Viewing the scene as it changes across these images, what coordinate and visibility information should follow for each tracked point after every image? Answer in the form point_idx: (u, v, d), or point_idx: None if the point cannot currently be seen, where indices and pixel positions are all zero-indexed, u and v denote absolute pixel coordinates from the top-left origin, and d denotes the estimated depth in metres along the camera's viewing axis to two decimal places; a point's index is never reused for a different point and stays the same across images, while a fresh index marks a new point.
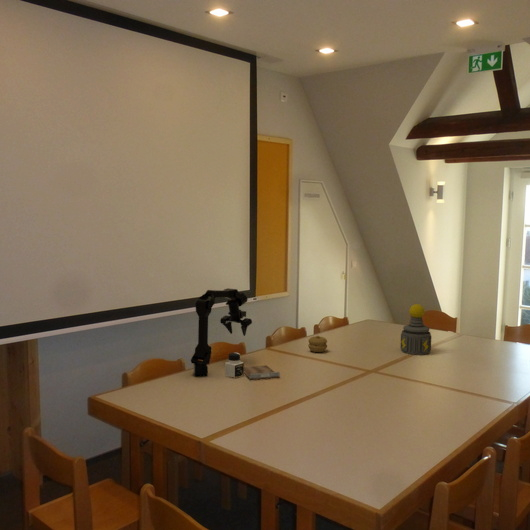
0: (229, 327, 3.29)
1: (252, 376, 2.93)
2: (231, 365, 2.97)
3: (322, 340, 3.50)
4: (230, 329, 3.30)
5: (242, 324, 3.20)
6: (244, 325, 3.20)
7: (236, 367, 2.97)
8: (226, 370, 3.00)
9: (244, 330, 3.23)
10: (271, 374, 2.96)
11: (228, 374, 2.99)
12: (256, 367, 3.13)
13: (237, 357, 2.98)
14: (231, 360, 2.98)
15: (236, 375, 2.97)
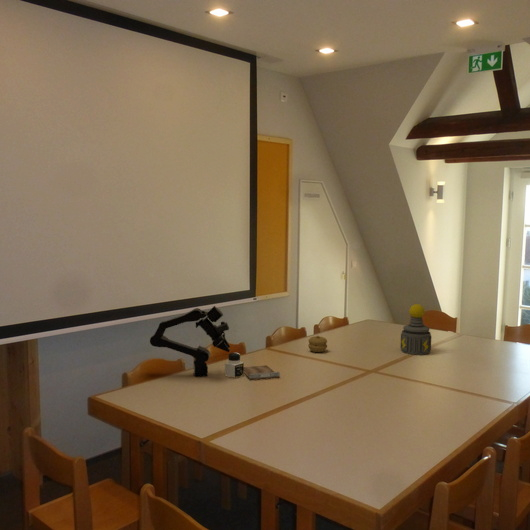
0: None
1: (252, 376, 2.93)
2: (231, 365, 2.97)
3: (322, 340, 3.50)
4: (225, 344, 3.05)
5: None
6: None
7: (236, 367, 2.97)
8: (226, 370, 3.00)
9: (222, 348, 2.95)
10: (271, 374, 2.96)
11: (228, 374, 2.99)
12: (256, 367, 3.13)
13: (237, 357, 2.98)
14: (231, 360, 2.98)
15: (236, 375, 2.97)
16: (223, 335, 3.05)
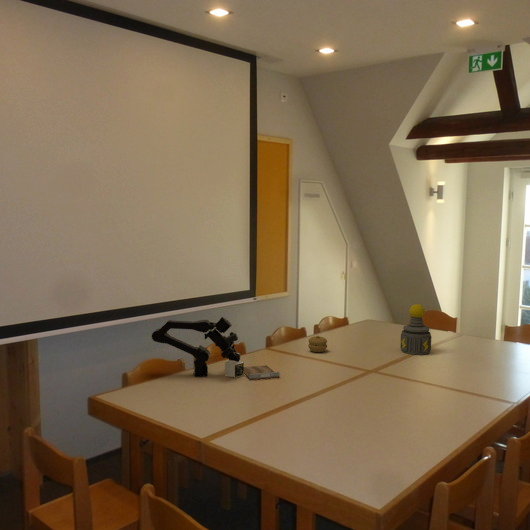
0: None
1: (252, 376, 2.93)
2: (231, 365, 2.97)
3: (322, 340, 3.50)
4: None
5: None
6: None
7: (236, 367, 2.97)
8: (226, 370, 3.00)
9: (231, 358, 2.96)
10: (271, 374, 2.96)
11: (228, 374, 2.99)
12: (256, 367, 3.13)
13: (237, 357, 2.98)
14: (231, 360, 2.98)
15: (236, 375, 2.97)
16: (233, 346, 3.04)
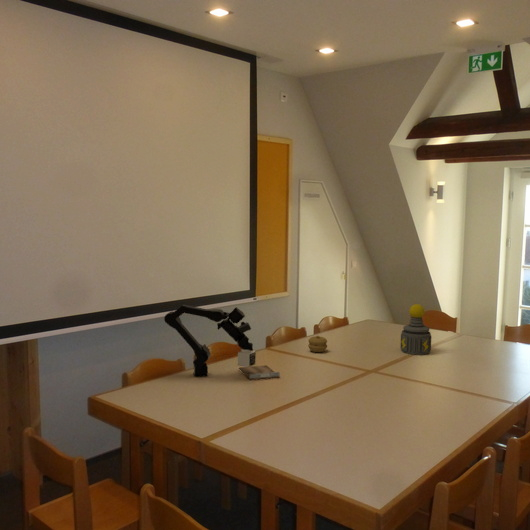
0: None
1: (252, 376, 2.93)
2: (245, 354, 2.98)
3: (322, 340, 3.50)
4: None
5: None
6: (239, 346, 2.92)
7: (250, 356, 2.98)
8: (239, 359, 2.99)
9: (246, 347, 2.96)
10: (271, 374, 2.96)
11: (241, 363, 2.99)
12: (256, 367, 3.13)
13: (251, 346, 2.99)
14: (245, 349, 2.98)
15: (250, 364, 2.98)
16: None
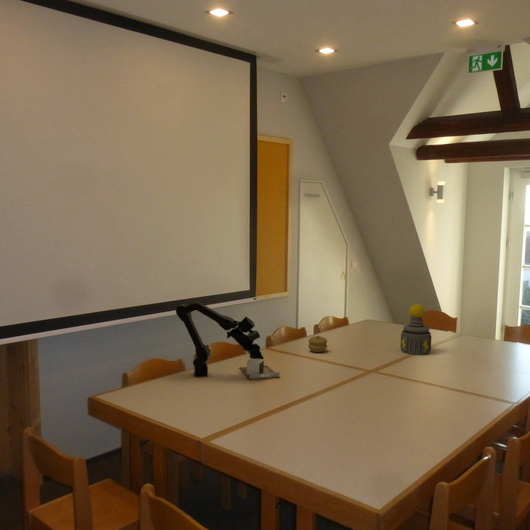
0: None
1: (252, 376, 2.93)
2: (255, 363, 2.98)
3: (322, 340, 3.50)
4: None
5: (249, 353, 2.93)
6: (250, 354, 2.91)
7: (260, 364, 2.98)
8: (248, 369, 2.99)
9: (257, 356, 2.95)
10: (271, 374, 2.96)
11: (251, 372, 2.99)
12: None
13: None
14: (254, 358, 2.98)
15: (260, 372, 2.98)
16: None
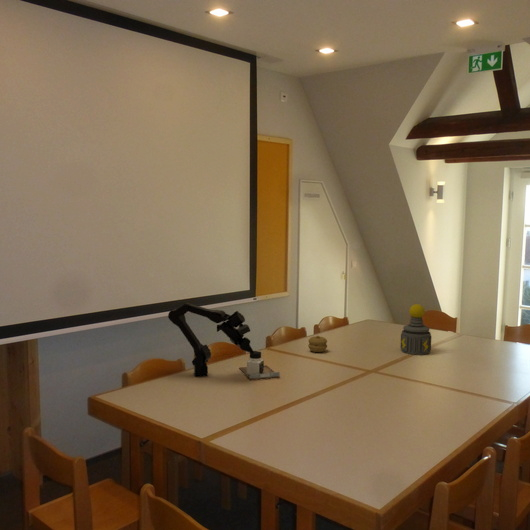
0: None
1: (252, 376, 2.93)
2: (255, 363, 2.98)
3: (322, 340, 3.50)
4: None
5: (239, 347, 2.91)
6: (240, 348, 2.89)
7: (260, 364, 2.98)
8: (248, 369, 2.99)
9: (247, 350, 2.93)
10: (271, 374, 2.96)
11: (251, 372, 2.99)
12: None
13: (260, 355, 2.99)
14: (254, 358, 2.98)
15: (260, 372, 2.98)
16: None
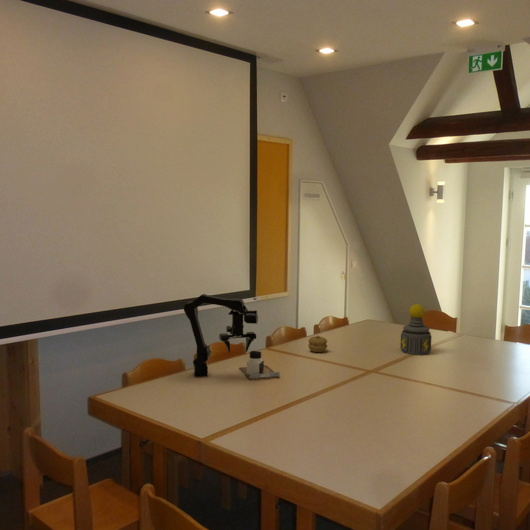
0: None
1: (252, 376, 2.93)
2: (255, 363, 2.98)
3: (322, 340, 3.50)
4: None
5: (251, 336, 2.96)
6: (254, 337, 2.96)
7: (260, 364, 2.98)
8: (248, 369, 2.99)
9: None
10: (271, 374, 2.96)
11: (251, 372, 2.99)
12: None
13: (260, 355, 2.99)
14: (254, 358, 2.98)
15: (260, 372, 2.98)
16: None
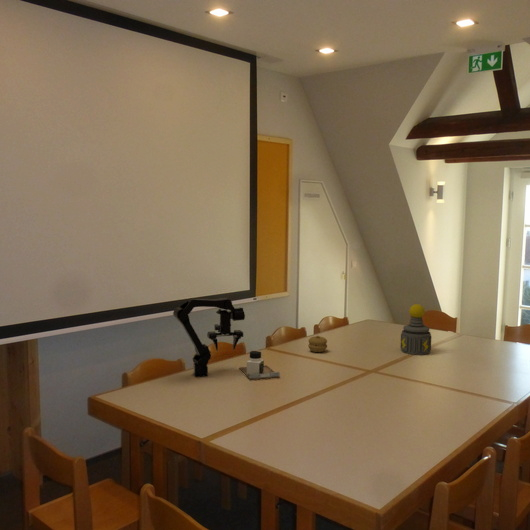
0: None
1: (252, 376, 2.93)
2: (255, 363, 2.98)
3: (322, 340, 3.50)
4: None
5: (238, 334, 3.05)
6: (241, 335, 3.05)
7: (260, 364, 2.98)
8: (248, 369, 2.99)
9: (236, 342, 3.07)
10: (271, 374, 2.96)
11: (251, 372, 2.99)
12: None
13: (260, 355, 2.99)
14: (254, 358, 2.98)
15: (260, 372, 2.98)
16: None
